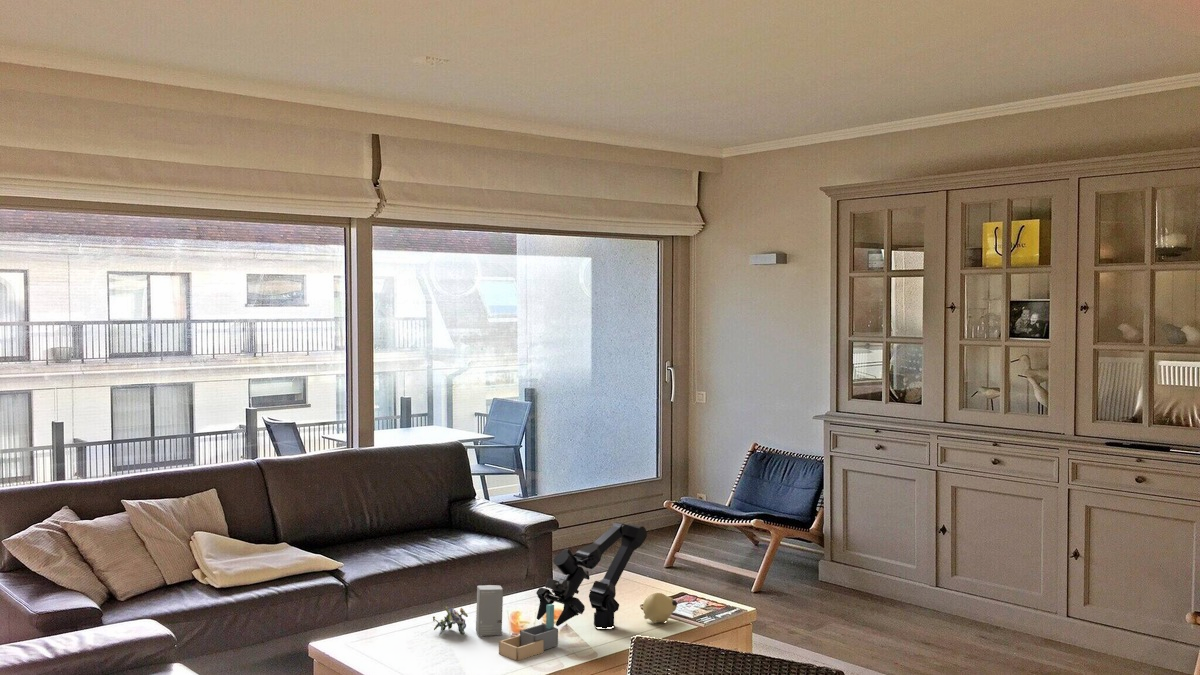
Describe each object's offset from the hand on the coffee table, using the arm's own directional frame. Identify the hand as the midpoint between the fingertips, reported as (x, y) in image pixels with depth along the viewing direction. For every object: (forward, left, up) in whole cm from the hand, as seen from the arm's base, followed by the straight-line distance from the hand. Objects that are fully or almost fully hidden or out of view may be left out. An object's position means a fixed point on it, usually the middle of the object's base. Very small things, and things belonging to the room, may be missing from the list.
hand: (546, 622), depth 319 cm
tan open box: (+9, +7, -8) cm, 13 cm away
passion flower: (+32, -13, -8) cm, 35 cm away
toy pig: (-41, -22, -8) cm, 47 cm away
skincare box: (+19, -14, -8) cm, 25 cm away
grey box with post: (+3, +3, -8) cm, 9 cm away
